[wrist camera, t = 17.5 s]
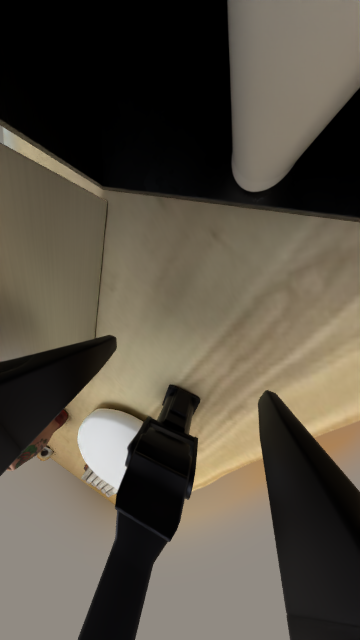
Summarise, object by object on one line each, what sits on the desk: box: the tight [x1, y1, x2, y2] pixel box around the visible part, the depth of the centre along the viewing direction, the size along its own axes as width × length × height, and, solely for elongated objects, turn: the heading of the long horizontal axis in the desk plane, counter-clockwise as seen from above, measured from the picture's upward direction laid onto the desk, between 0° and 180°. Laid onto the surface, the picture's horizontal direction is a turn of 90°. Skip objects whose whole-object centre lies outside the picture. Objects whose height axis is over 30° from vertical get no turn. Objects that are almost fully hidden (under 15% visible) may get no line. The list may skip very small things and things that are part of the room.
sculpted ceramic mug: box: [7, 410, 68, 471], centre depth 40 cm, size 20×12×14 cm, turn 149°
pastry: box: [37, 446, 53, 461], centre depth 65 cm, size 9×7×4 cm
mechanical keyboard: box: [81, 464, 118, 497], centre depth 51 cm, size 38×19×3 cm, turn 150°
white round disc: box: [78, 409, 143, 489], centre depth 36 cm, size 28×6×27 cm
